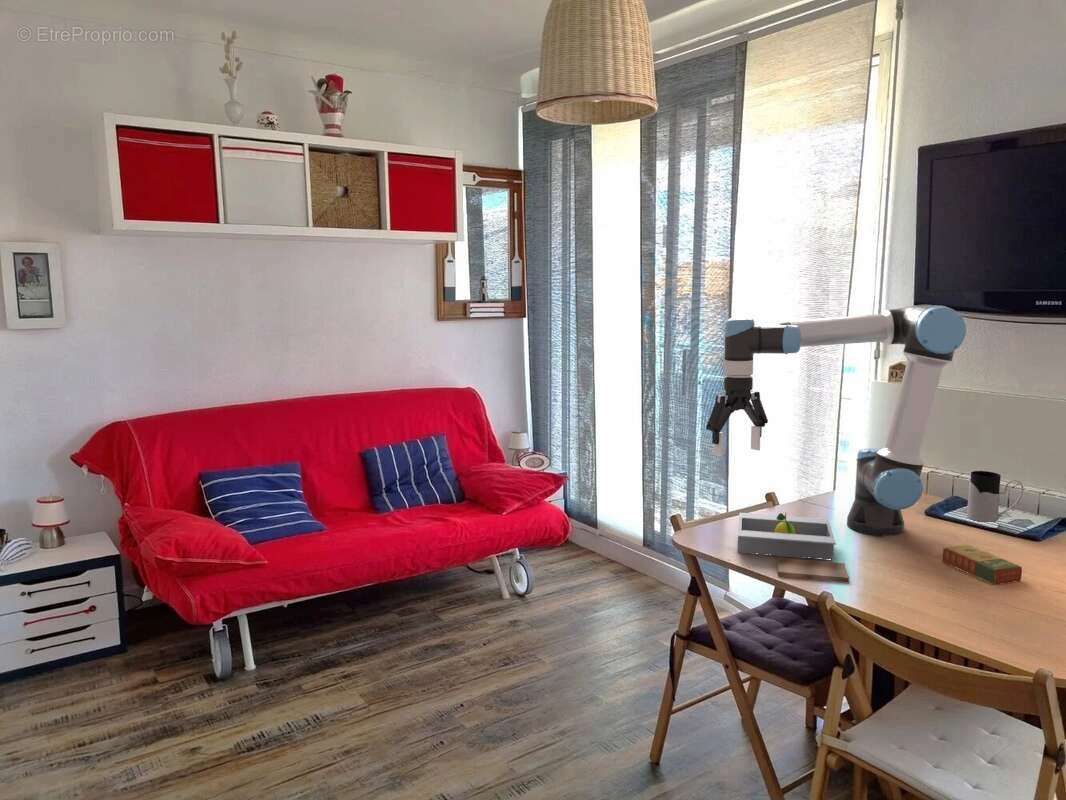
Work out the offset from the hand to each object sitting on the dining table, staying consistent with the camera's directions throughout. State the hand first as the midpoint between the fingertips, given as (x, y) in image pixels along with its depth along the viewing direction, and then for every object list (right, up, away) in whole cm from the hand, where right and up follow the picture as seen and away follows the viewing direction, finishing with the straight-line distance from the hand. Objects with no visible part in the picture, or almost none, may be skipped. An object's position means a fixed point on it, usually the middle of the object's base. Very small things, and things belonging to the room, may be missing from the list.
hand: (736, 452), depth 218 cm
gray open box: (+11, -25, -6) cm, 28 cm away
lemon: (+11, -25, -6) cm, 28 cm away
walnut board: (+12, -28, -23) cm, 38 cm away
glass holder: (+77, -22, +13) cm, 81 cm away
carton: (+54, -28, -23) cm, 65 cm away
